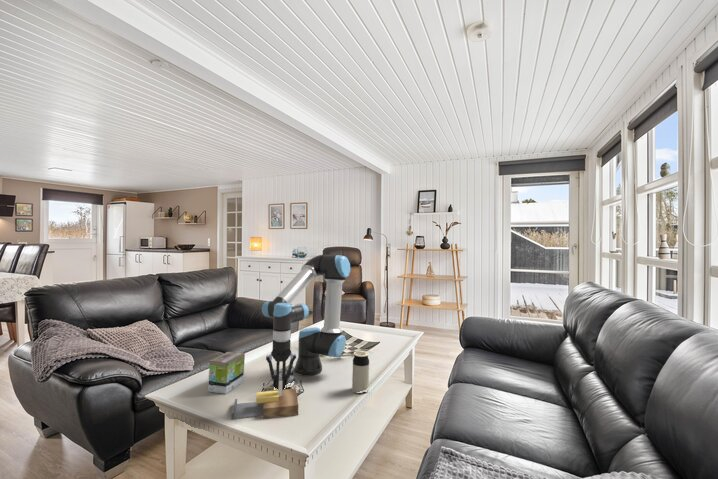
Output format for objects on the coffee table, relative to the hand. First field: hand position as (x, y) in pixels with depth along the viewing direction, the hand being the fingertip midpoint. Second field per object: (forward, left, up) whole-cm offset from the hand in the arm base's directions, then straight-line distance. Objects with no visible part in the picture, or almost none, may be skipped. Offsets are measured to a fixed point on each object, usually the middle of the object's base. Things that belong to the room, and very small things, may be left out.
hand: (280, 394), depth 142 cm
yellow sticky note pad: (+5, 0, -2) cm, 5 cm away
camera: (-3, -18, -6) cm, 20 cm away
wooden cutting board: (0, 0, -6) cm, 6 cm away
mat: (+13, 0, -6) cm, 14 cm away
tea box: (+25, -26, -6) cm, 36 cm away
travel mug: (-38, -9, -6) cm, 40 cm away
